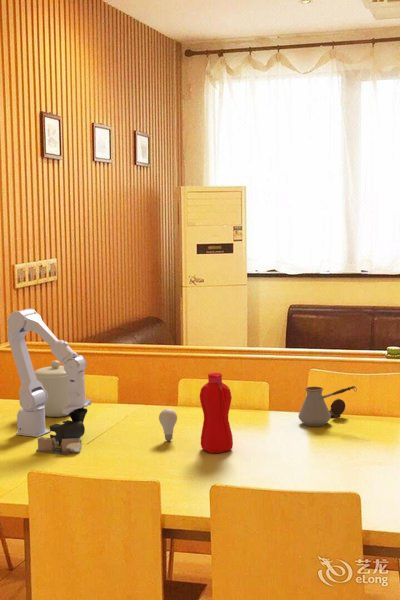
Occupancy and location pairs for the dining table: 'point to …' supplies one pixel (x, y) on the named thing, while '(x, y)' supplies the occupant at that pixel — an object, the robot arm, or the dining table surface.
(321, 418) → the coffee pot
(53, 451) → the shaft rig
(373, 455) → the dining table surface
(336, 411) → the compass
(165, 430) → the lightbulb
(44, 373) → the canister
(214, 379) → the water bottle
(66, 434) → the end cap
